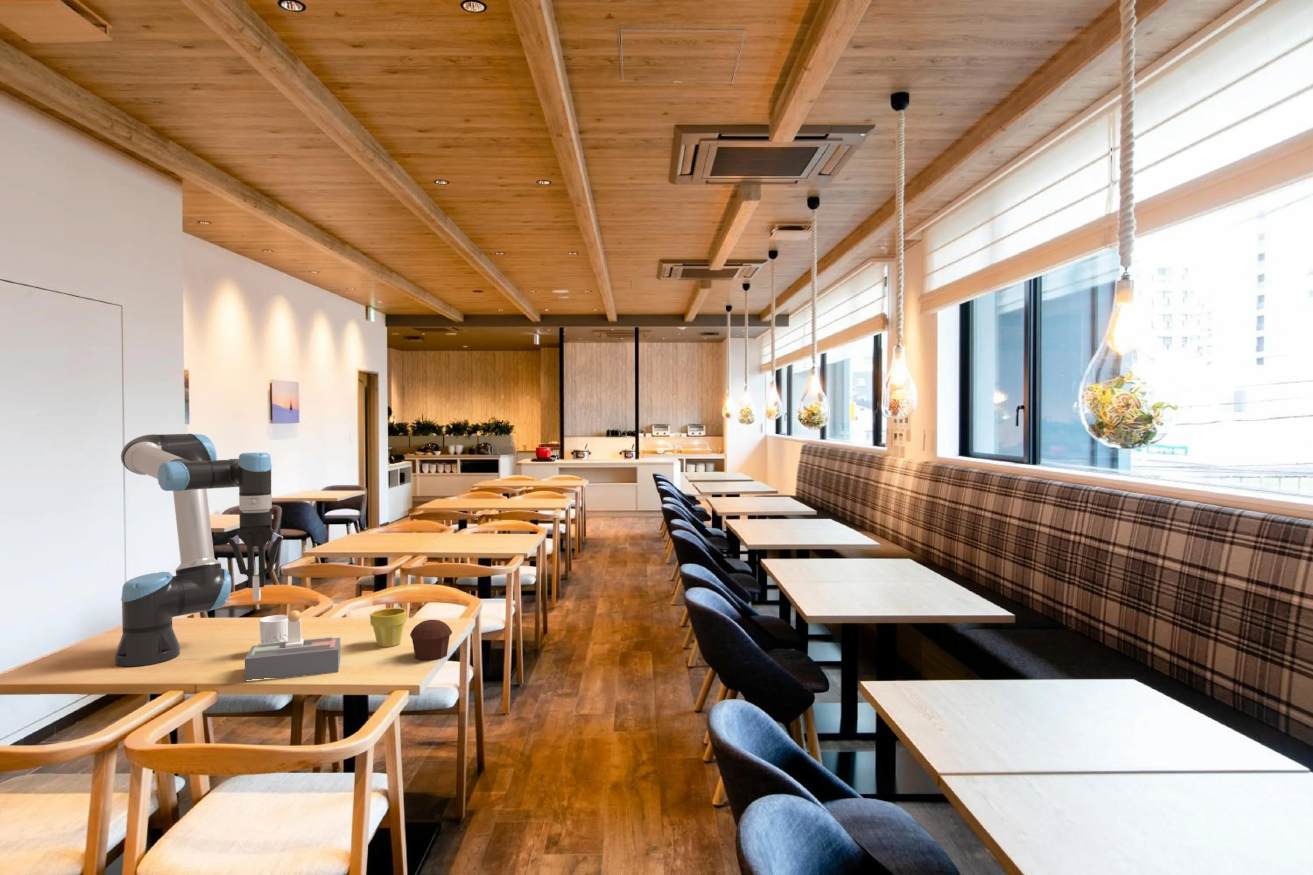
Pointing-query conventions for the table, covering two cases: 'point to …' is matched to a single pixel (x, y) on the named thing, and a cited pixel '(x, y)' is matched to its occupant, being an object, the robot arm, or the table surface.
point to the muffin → (430, 640)
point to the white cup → (274, 629)
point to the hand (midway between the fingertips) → (256, 599)
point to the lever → (294, 630)
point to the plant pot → (388, 626)
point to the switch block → (293, 659)
